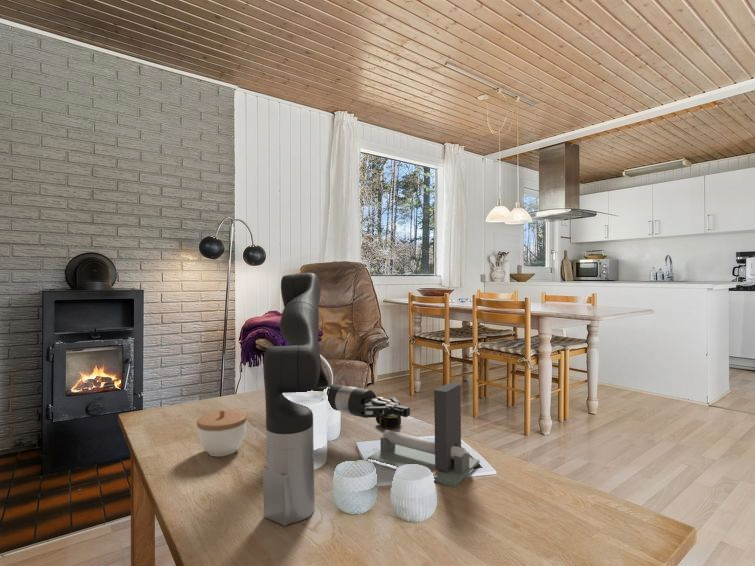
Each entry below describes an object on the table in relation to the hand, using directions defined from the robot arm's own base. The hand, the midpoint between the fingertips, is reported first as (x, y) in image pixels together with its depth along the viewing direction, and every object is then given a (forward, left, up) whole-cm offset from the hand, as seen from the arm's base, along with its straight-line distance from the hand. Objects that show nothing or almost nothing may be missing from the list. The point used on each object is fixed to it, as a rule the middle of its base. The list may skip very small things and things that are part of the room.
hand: (408, 412), depth 111 cm
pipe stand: (0, -4, -12) cm, 13 cm away
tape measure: (+17, +18, -12) cm, 28 cm away
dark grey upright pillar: (0, -11, -10) cm, 15 cm away
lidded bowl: (-23, +44, -12) cm, 52 cm away
